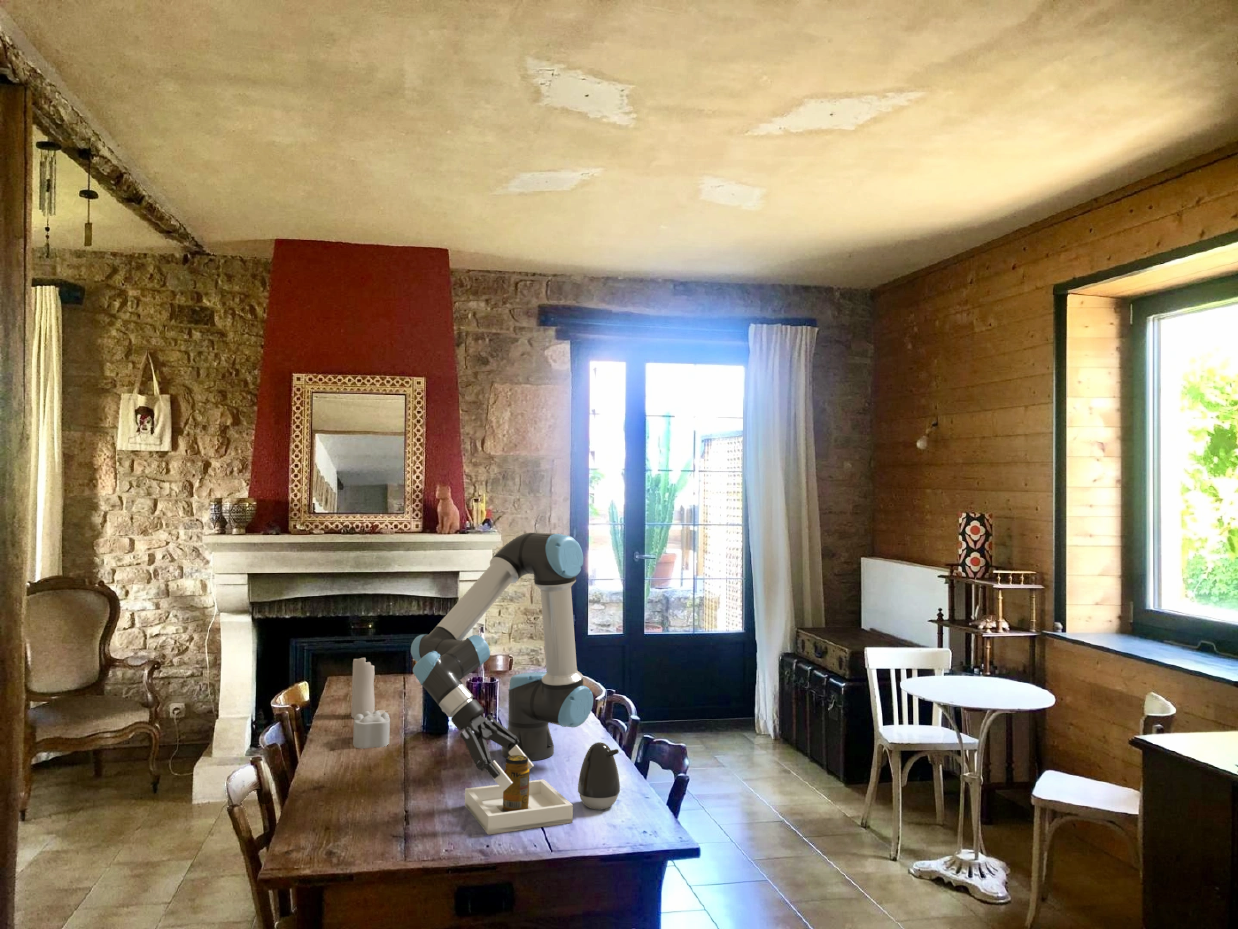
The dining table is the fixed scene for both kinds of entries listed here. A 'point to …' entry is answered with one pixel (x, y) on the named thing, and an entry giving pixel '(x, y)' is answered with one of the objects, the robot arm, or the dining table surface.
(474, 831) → the dining table surface
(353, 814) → the dining table surface
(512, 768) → the condiment
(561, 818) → the tray
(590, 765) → the pump dispenser
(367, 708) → the candle
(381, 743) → the lumpy-topped squat cylinder
